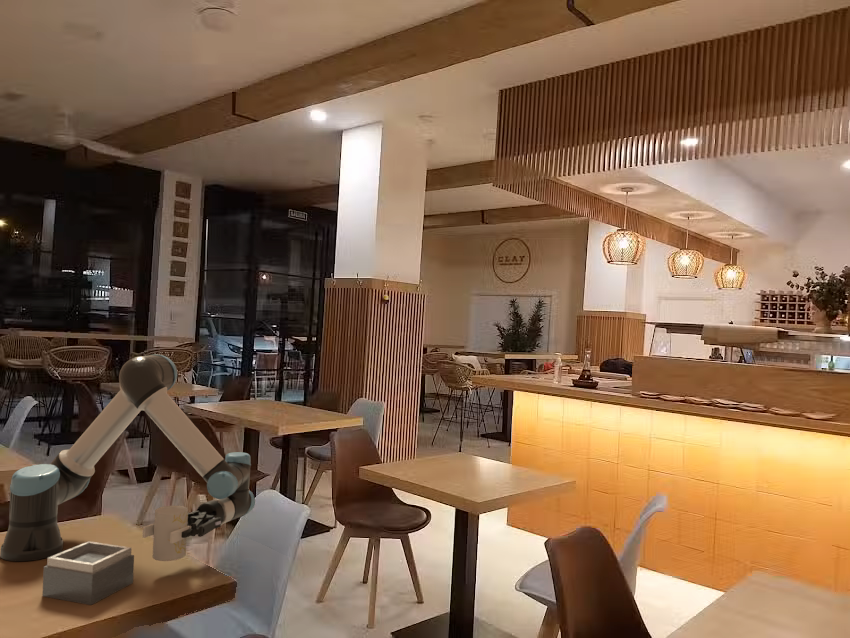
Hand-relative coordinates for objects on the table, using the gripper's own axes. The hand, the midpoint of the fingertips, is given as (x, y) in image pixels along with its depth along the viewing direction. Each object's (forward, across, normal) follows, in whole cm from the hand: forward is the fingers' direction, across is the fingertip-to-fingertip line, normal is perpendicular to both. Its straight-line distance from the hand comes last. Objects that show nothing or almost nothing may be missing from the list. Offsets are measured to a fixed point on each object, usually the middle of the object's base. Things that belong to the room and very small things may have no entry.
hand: (157, 535), depth 168 cm
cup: (-5, 0, -7) cm, 8 cm away
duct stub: (+11, +10, -12) cm, 19 cm away
